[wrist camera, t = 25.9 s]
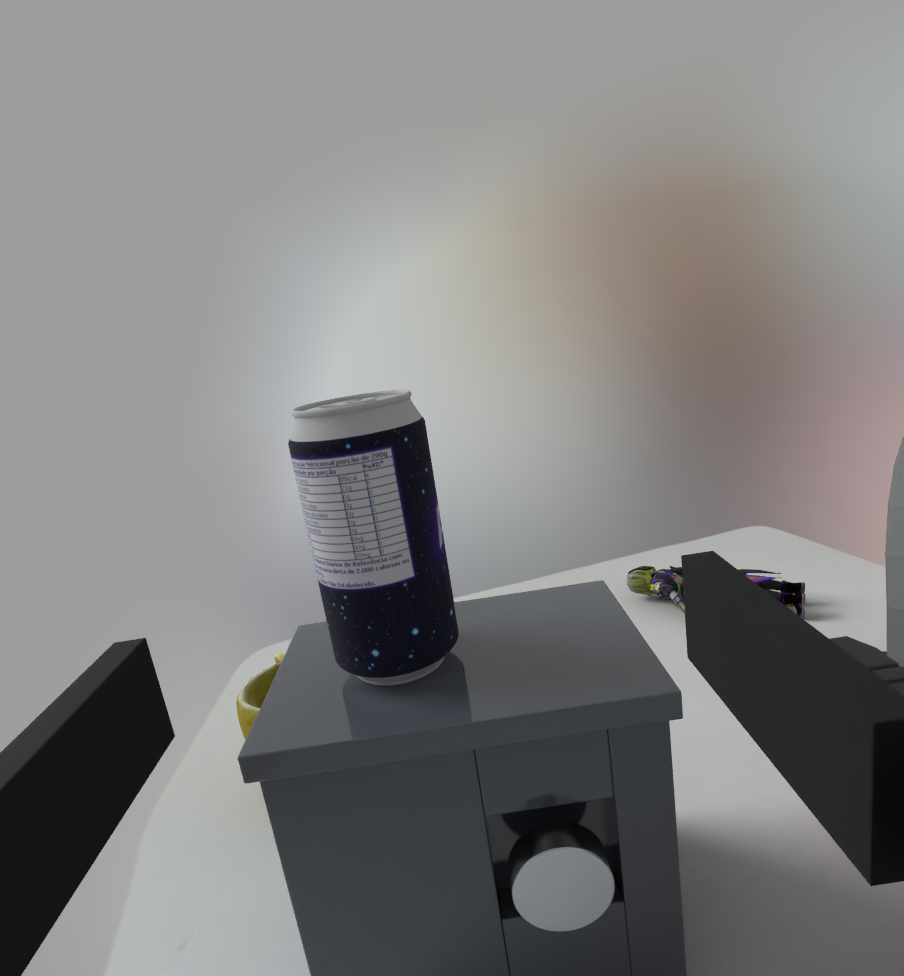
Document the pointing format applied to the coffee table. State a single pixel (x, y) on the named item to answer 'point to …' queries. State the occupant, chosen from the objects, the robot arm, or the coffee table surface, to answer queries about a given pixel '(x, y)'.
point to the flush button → (560, 876)
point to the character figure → (672, 588)
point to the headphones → (895, 563)
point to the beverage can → (375, 534)
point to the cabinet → (475, 793)
